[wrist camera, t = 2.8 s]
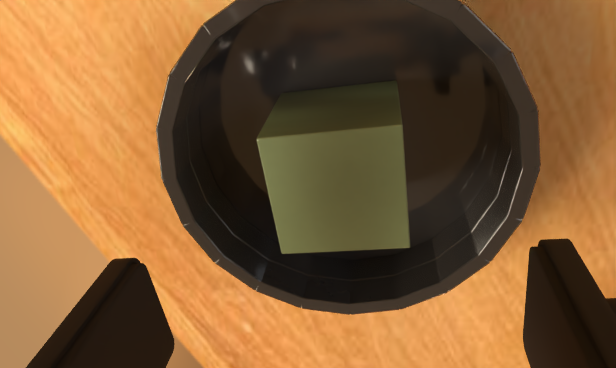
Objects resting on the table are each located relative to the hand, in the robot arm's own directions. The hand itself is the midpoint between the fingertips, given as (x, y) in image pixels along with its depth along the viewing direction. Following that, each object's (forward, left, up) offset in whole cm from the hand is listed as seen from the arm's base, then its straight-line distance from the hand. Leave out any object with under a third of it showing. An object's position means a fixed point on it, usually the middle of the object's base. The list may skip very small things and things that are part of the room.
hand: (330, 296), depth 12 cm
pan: (0, 0, -10) cm, 10 cm away
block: (0, 0, -9) cm, 9 cm away
